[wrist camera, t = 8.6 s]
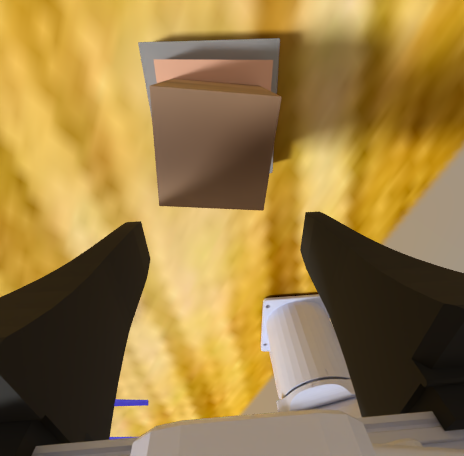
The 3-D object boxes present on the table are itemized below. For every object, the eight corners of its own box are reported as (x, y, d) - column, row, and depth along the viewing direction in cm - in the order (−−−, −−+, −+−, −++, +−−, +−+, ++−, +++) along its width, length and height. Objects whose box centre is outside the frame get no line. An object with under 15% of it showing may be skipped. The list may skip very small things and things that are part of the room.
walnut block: (249, 167, 16) (263, 210, 11) (176, 163, 16) (159, 205, 11) (259, 85, 14) (281, 96, 9) (173, 78, 13) (149, 85, 9)
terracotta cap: (258, 160, 18) (264, 172, 16) (174, 162, 18) (169, 175, 16) (264, 60, 15) (273, 59, 13) (161, 60, 15) (153, 59, 13)
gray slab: (266, 161, 21) (272, 172, 19) (167, 166, 21) (162, 178, 19) (271, 41, 17) (280, 38, 15) (147, 45, 16) (138, 42, 14)
